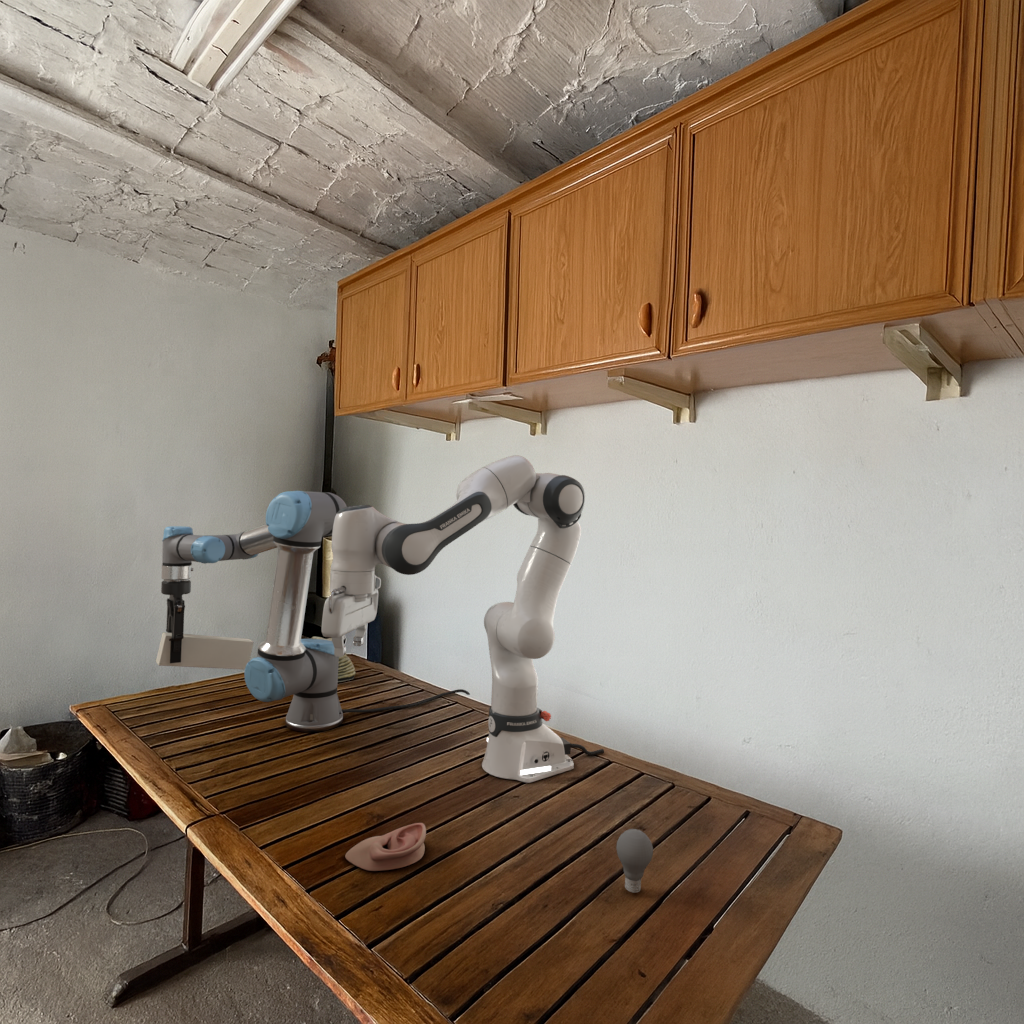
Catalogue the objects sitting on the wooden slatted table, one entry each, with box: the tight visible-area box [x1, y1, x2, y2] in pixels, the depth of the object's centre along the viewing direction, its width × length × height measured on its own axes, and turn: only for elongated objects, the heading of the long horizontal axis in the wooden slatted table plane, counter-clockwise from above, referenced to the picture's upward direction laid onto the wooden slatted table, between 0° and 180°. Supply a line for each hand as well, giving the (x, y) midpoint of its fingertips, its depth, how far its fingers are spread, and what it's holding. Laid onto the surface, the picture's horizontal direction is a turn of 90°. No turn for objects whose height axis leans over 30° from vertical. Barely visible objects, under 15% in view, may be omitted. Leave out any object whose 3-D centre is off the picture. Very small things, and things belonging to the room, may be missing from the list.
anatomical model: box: [344, 822, 427, 872], centre depth 113 cm, size 13×4×12 cm
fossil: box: [310, 636, 357, 683], centre depth 216 cm, size 9×18×15 cm, turn 132°
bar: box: [155, 631, 254, 671], centre depth 188 cm, size 25×5×8 cm, turn 129°
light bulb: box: [615, 828, 654, 894], centre depth 106 cm, size 6×6×10 cm
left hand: (173, 660), depth 183 cm, fingers closed on bar, 5 cm apart
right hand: (349, 650), depth 130 cm, fingers open, 8 cm apart
